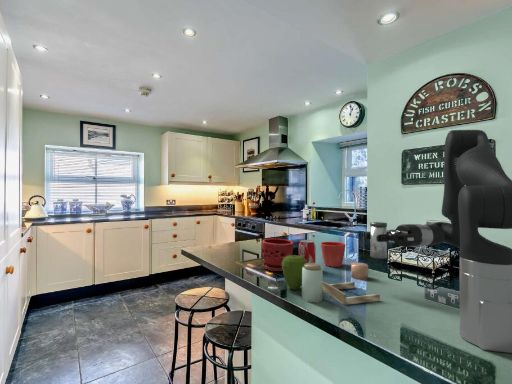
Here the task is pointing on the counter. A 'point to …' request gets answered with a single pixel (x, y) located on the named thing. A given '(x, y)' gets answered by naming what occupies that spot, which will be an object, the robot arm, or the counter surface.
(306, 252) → the soda can
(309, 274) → the sage jar
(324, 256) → the flower pot
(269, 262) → the plant pot
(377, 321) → the counter surface
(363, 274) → the terracotta tin
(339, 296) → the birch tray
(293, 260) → the green bell pepper
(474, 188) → the robot arm
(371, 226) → the steel canister
